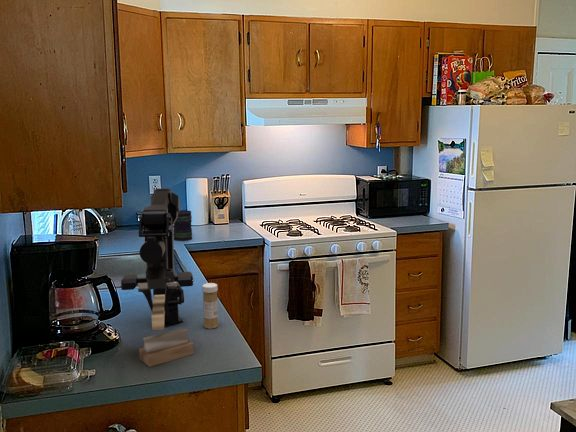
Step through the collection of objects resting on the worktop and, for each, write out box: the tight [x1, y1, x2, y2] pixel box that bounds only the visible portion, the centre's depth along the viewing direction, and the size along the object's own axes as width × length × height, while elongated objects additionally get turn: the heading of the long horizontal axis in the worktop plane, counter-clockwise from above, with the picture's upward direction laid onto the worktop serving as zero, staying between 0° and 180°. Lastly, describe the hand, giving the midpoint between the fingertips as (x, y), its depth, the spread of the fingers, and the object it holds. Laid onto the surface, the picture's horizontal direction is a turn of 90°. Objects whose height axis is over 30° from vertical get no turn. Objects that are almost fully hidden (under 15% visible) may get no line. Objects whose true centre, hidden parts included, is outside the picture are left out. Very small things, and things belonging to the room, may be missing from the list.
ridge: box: [138, 327, 195, 368], centre depth 152 cm, size 6×13×6 cm, turn 129°
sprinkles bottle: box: [201, 282, 219, 330], centre depth 174 cm, size 5×5×13 cm
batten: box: [151, 295, 165, 331], centre depth 154 cm, size 20×3×4 cm, turn 11°
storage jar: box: [173, 209, 193, 242], centre depth 302 cm, size 10×10×15 cm
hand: (158, 311), depth 155 cm, fingers closed on batten, 3 cm apart
